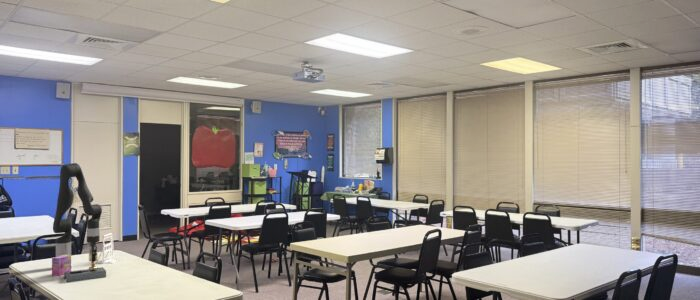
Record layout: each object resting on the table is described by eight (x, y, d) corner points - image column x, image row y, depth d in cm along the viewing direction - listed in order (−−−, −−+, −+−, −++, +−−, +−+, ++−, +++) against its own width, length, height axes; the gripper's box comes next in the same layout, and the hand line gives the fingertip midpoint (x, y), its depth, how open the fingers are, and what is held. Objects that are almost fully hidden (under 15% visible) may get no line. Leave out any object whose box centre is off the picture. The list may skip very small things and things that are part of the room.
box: (59, 276, 311) (59, 257, 311) (51, 276, 312) (51, 257, 313) (71, 272, 321) (71, 254, 322) (64, 272, 323) (64, 254, 323)
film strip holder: (113, 263, 348) (113, 235, 348) (94, 263, 348) (94, 235, 348) (123, 259, 362) (123, 232, 362) (104, 259, 362) (104, 232, 363)
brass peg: (88, 268, 321) (88, 252, 321) (96, 267, 324) (96, 251, 324) (89, 270, 317) (89, 254, 317) (97, 269, 320) (97, 253, 320)
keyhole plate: (66, 282, 296) (66, 275, 296) (64, 278, 306) (64, 272, 306) (106, 276, 309) (106, 270, 309) (102, 273, 318) (102, 267, 318)
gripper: (85, 233, 324) (85, 259, 324) (88, 237, 313) (88, 263, 313) (97, 232, 329) (97, 258, 329) (101, 235, 317) (101, 262, 317)
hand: (93, 260), depth 321 cm, fingers closed on brass peg, 4 cm apart
